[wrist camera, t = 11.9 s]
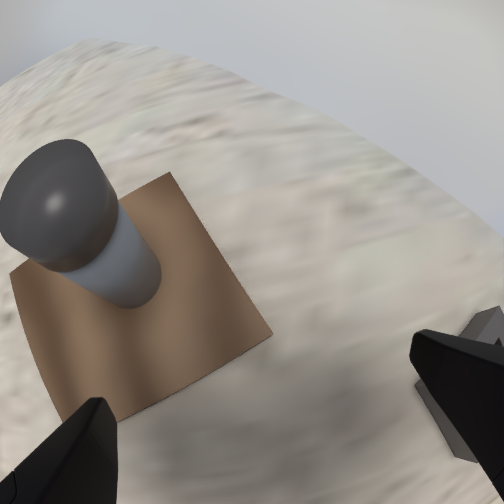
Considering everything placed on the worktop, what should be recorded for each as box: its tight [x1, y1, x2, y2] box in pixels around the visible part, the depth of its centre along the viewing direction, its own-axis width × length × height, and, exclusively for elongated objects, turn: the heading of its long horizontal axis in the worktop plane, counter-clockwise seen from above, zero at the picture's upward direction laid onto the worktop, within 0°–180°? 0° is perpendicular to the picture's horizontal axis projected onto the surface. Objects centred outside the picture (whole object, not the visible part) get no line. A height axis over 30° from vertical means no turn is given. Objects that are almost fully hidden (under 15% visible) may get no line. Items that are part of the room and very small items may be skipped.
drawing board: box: [9, 172, 273, 422], centre depth 19 cm, size 16×14×1 cm
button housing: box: [415, 306, 504, 463], centre depth 16 cm, size 9×9×3 cm
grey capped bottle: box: [0, 139, 161, 309], centre depth 14 cm, size 5×5×11 cm
